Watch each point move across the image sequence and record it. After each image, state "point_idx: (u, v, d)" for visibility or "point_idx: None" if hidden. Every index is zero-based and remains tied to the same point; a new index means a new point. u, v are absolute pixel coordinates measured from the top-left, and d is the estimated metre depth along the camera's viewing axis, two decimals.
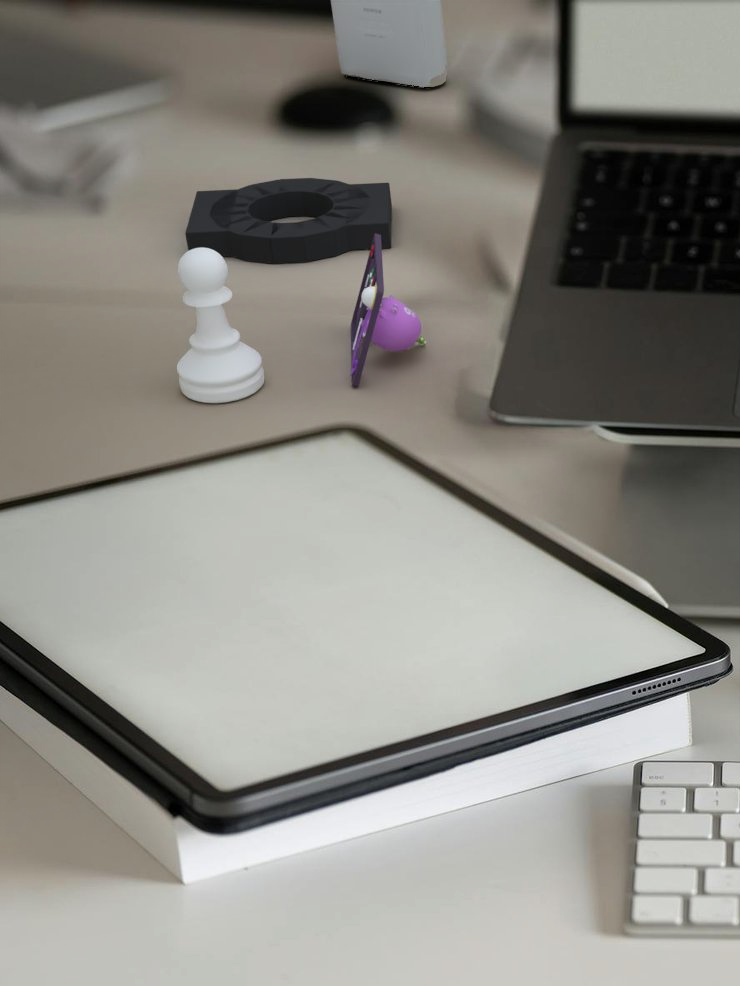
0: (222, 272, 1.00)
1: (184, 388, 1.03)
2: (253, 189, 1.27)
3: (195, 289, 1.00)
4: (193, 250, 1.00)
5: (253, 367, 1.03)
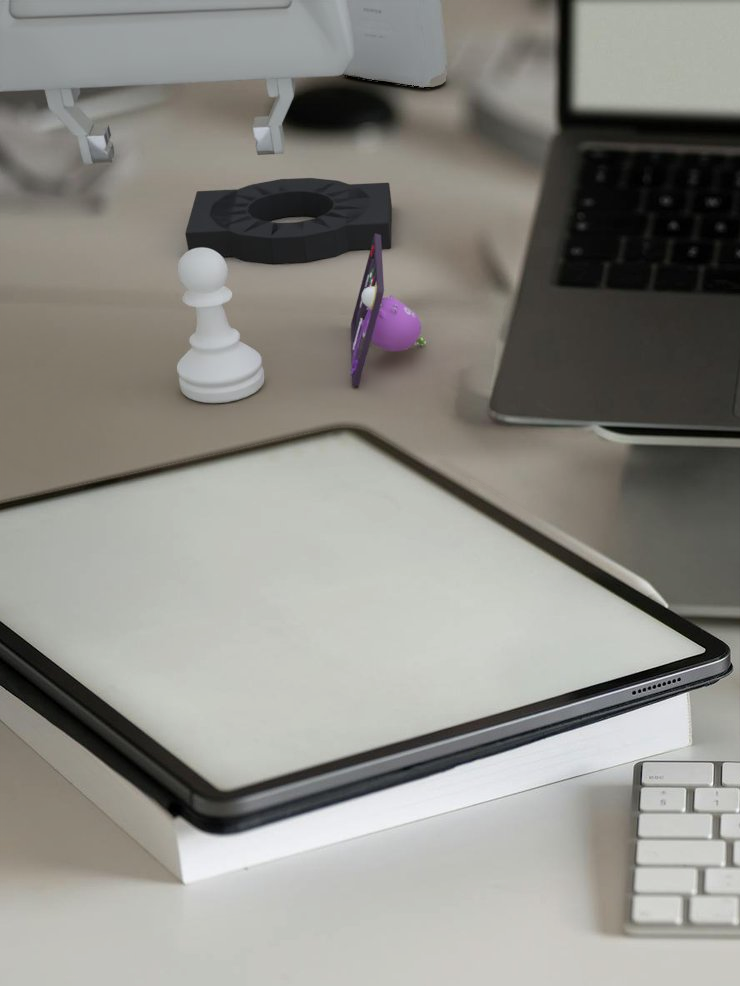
0: (222, 272, 1.00)
1: (184, 388, 1.03)
2: (253, 189, 1.27)
3: (195, 289, 1.00)
4: (193, 250, 1.00)
5: (253, 367, 1.03)
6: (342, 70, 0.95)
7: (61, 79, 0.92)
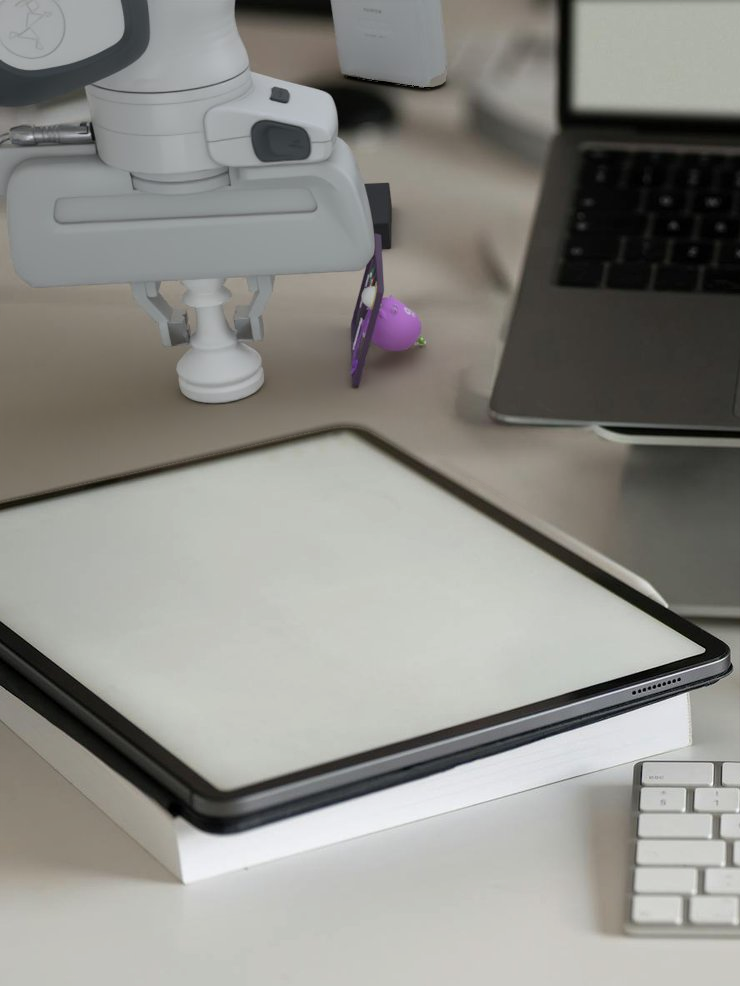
0: None
1: (184, 388, 1.03)
2: None
3: (194, 289, 1.00)
4: None
5: (253, 367, 1.03)
6: (363, 266, 1.01)
7: (100, 277, 0.98)
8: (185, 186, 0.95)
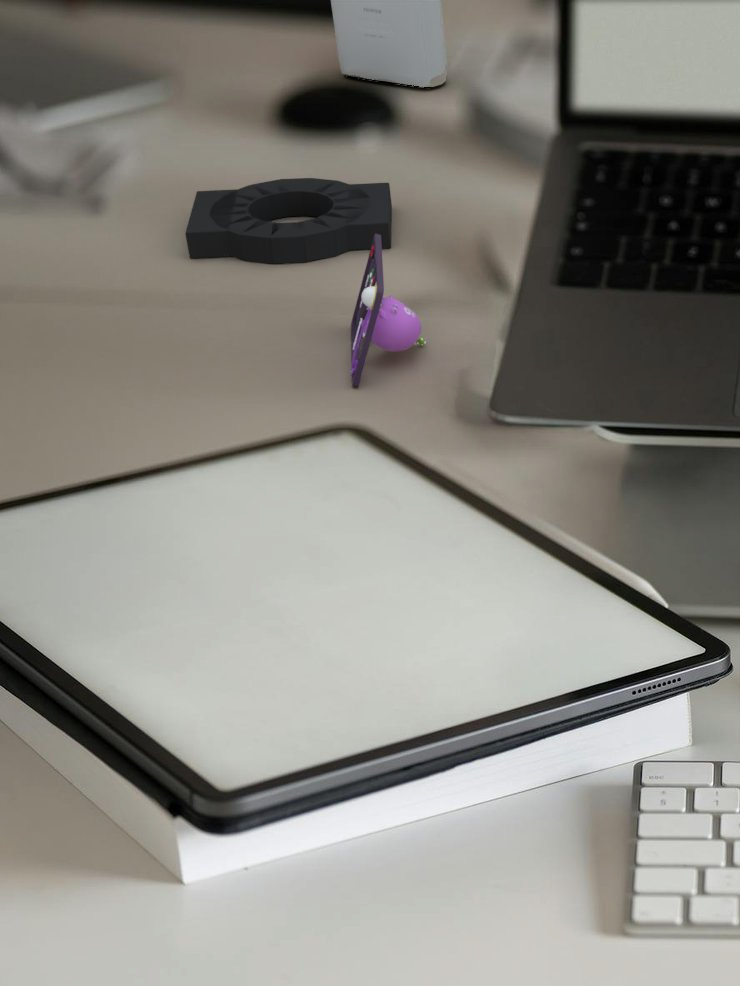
0: None
1: None
2: (253, 189, 1.27)
3: None
4: None
5: None
6: None
7: None
8: None
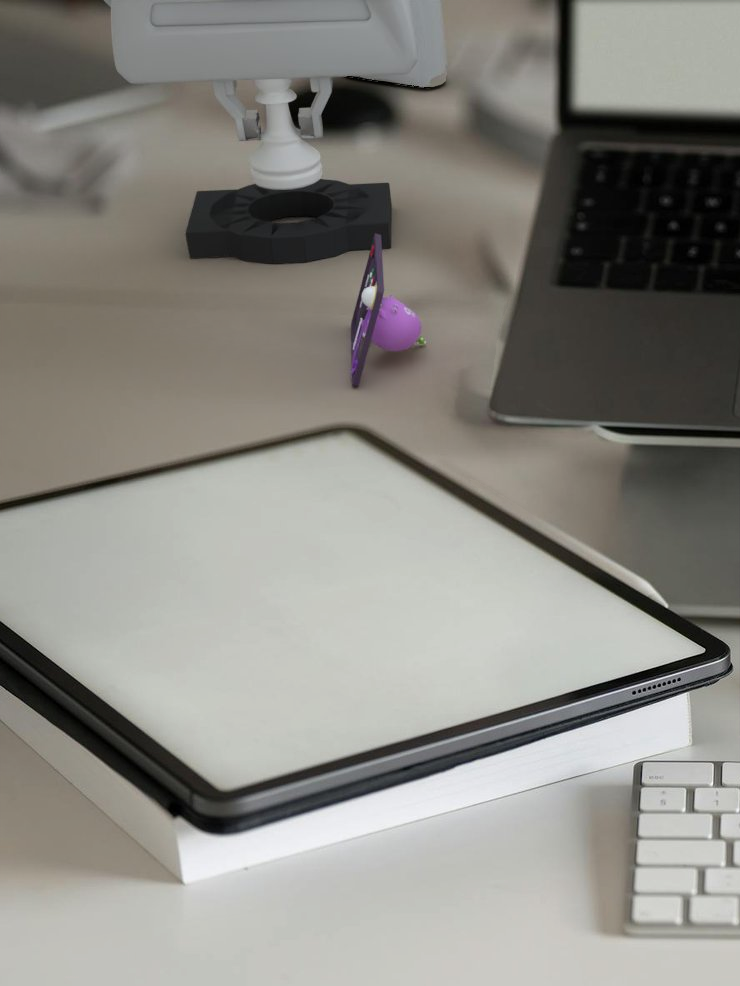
0: None
1: (255, 178, 1.21)
2: (253, 189, 1.27)
3: (266, 88, 1.18)
4: None
5: (314, 160, 1.21)
6: (409, 70, 1.19)
7: (188, 74, 1.16)
8: None
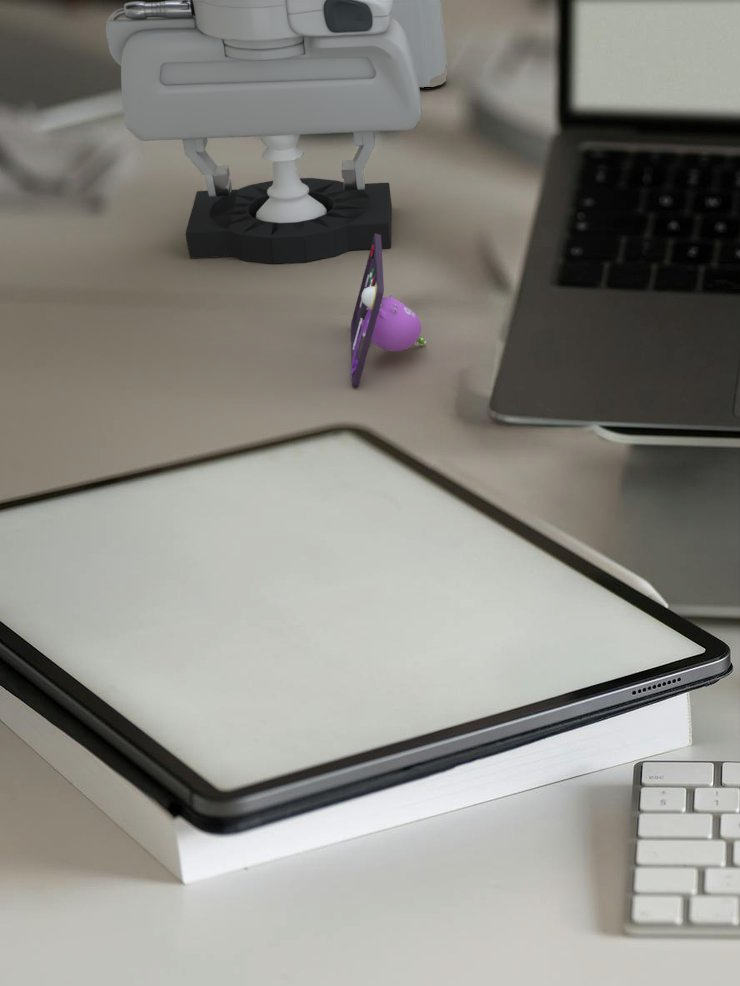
0: None
1: None
2: (253, 189, 1.27)
3: (273, 146, 1.20)
4: None
5: (320, 215, 1.24)
6: (413, 126, 1.21)
7: (196, 131, 1.18)
8: (269, 53, 1.15)
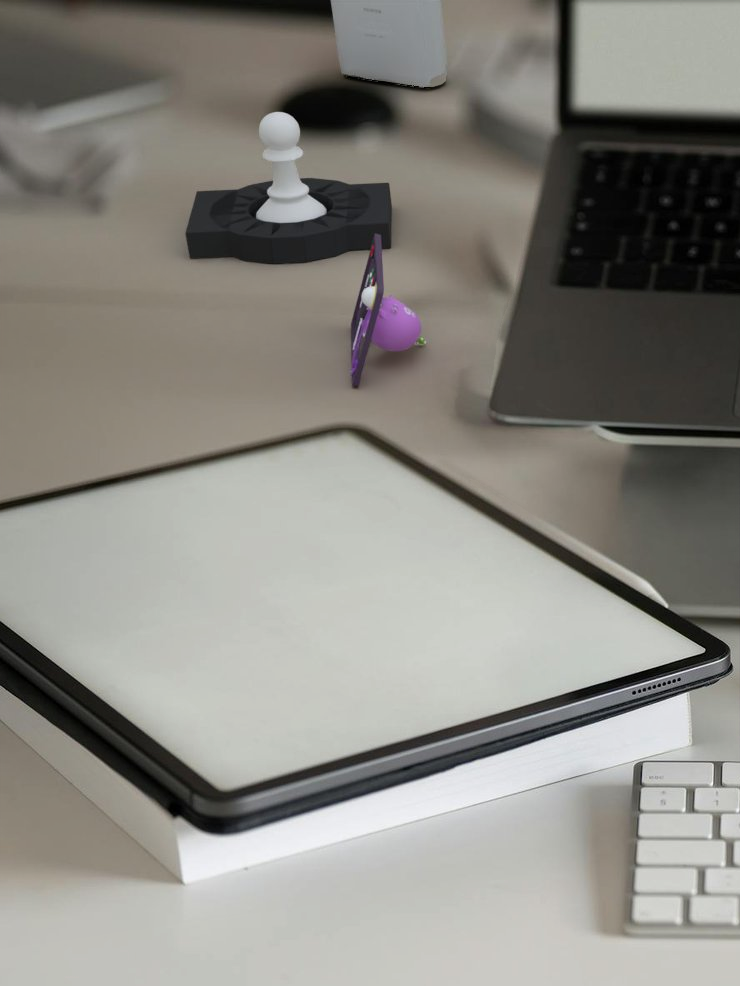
0: (296, 132, 1.21)
1: None
2: (253, 189, 1.27)
3: (273, 146, 1.20)
4: (272, 113, 1.20)
5: (320, 215, 1.24)
6: None
7: None
8: None
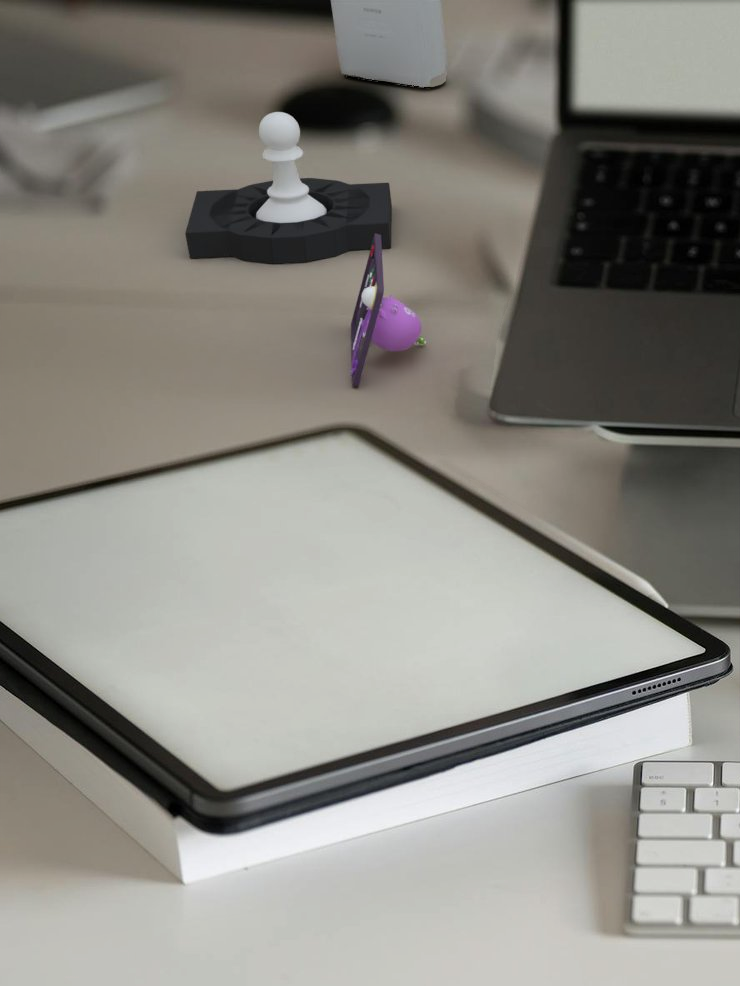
0: (296, 132, 1.21)
1: None
2: (253, 189, 1.27)
3: (273, 146, 1.20)
4: (272, 113, 1.20)
5: (320, 215, 1.24)
6: None
7: None
8: None
